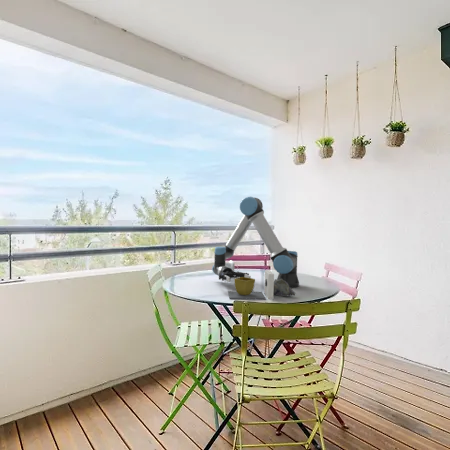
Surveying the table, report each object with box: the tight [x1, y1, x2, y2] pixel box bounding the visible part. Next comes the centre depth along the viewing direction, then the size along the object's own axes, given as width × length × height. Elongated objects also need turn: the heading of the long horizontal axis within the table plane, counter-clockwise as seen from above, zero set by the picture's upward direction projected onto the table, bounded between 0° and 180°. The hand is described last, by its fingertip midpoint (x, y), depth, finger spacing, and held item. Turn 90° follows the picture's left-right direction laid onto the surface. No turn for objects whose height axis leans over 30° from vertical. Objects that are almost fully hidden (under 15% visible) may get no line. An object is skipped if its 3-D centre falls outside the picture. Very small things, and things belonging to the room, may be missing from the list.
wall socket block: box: [263, 269, 275, 300], centre depth 191 cm, size 4×12×14 cm, turn 3°
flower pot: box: [233, 277, 256, 295], centre depth 190 cm, size 9×9×9 cm
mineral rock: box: [273, 278, 296, 297], centre depth 193 cm, size 13×11×10 cm
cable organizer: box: [225, 259, 235, 279], centre depth 245 cm, size 15×11×12 cm
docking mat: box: [227, 290, 267, 301], centre depth 191 cm, size 20×14×1 cm
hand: (239, 278), depth 196 cm, fingers open, 13 cm apart
